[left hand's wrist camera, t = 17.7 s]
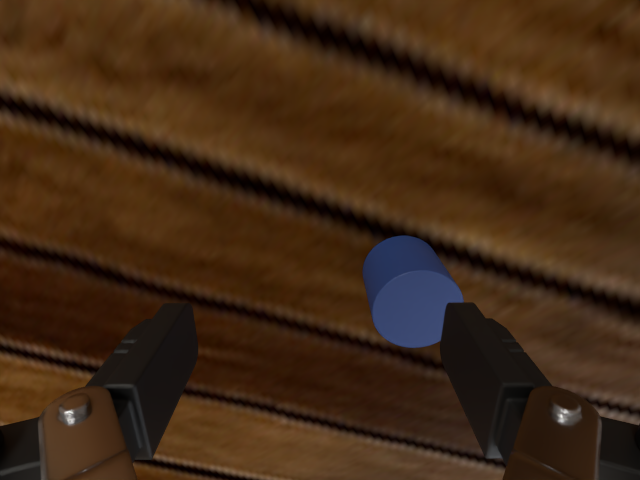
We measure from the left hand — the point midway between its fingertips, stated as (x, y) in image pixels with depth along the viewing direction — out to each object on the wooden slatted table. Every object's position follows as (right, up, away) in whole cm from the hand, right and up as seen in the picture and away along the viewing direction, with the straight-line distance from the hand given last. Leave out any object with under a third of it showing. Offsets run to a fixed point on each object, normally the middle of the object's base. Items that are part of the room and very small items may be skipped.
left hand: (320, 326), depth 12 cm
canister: (+5, +1, +12) cm, 13 cm away
